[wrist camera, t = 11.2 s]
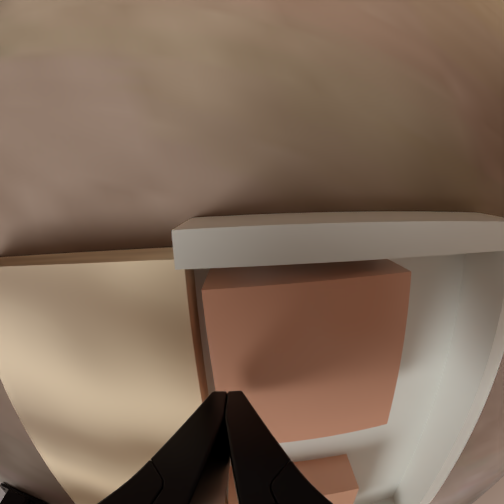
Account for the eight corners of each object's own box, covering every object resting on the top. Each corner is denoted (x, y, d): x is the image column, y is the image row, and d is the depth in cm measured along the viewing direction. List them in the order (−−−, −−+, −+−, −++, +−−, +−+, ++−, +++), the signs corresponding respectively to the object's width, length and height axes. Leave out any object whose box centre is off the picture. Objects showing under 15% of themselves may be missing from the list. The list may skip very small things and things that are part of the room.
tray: (399, 496, 15) (412, 526, 12) (233, 522, 15) (233, 558, 12) (476, 212, 11) (527, 221, 8) (191, 217, 11) (171, 230, 7)
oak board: (232, 516, 14) (232, 539, 13) (95, 499, 14) (88, 518, 12) (193, 245, 11) (183, 258, 9) (-6, 257, 11) (-33, 267, 9)
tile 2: (366, 388, 12) (386, 423, 9) (227, 404, 12) (225, 446, 9) (377, 253, 11) (411, 271, 8) (210, 266, 11) (201, 289, 8)
